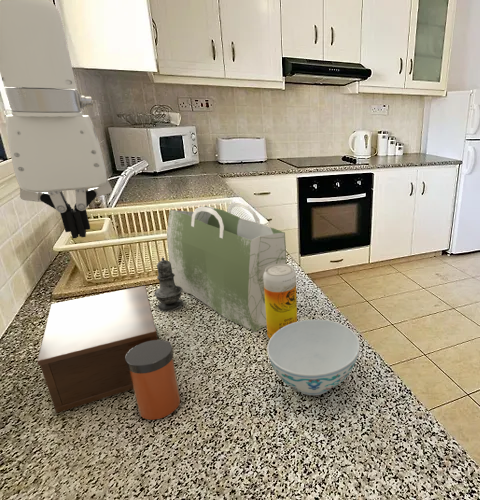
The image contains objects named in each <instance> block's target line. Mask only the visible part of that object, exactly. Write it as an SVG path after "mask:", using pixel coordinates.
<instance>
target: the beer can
mask: <svg viewBox="0 0 480 500" xmlns="http://www.w3.org/2000/svg"><path fill="white" fill-rule="evenodd" d="M263 279H264V293H265V308H266V323H267V325H266V335H267V337H268V338H269V340H270V339H271V337H272V336H273V335H274V334H275V333H276V332H277V331H278V330H280V329H281V328H283V327H285V326H287V325H289V324H291V323H294V322H298V301H297V300H298V299H297V296H298V295H297V272H296V270H295V269H294V267H293V266H292V265H291V264H288V263H286V264H273V265H270V266H268V267H267V268H266V269H265V272H264V275H263Z"/></svg>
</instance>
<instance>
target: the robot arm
mask: <svg viewBox="0 0 480 500" xmlns="http://www.w3.org/2000/svg"><path fill="white" fill-rule="evenodd" d="M71 60H72V59H71V56H70V52H69V46H68V43H67V38H66V33H65V29H64V25H63V20H62V16H61V13H60V11H59V8H58V7H57V6H56V5H55V4H54V3H53V2H52V1H51V0H0V77H1V81H2V84H3V87H4V91H5V95H6V98H7V102H8V105H9V109H10V111H11V114H6V115H5V127H6V136H7V142H8V147H9V154H10V157H11V162H12V167H13V171H14V175H15V176H14V177H15V178H16V181H17V184H18V187H19V198H20V199H21V200H22V201H28V202H37V203H38V202H41V203H44V204H45V205H47V206H49V207H50V208H52V209H54V210H56V212H58V213H59V214H60V217H61V220H62V225H63V228H64V231H65V233H70V234H71V238H72V239H78V238H79V237H80V238H86V237H87V230H91V225H90V220H89V216H88V212H87V208H88V207H89V205H90V204H91V203H92V202H94V200H95V199H96V198H99V197H102V196H105V195H108V194H111V193H112V192H113V188H112V185H111V183H110V181H109V180H108V172H107V167H106V161H105V159H104V155H103V151H102V147H101V144H100V140H99V137H98V135H97V131H96V129H95V125H94V123H93V121H92V118H91V116H90V115H88V114H87V115H86V114H83V109H85V108H88V107H93V106H94V105H93V104H94V103H93V98H92V96H91V95H85V94H82V93H79V90H78V89H77V83H76V80H75V79H76V78H75V75H74V70H73V69H74V68H73V65H72V61H71ZM65 191H75V193H74V194H75V203H74V206H73V208H72V207H71V204H70V203H68V200H67V199H66V197H65V194H64V192H65Z"/></svg>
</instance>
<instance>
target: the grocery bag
mask: <svg viewBox="0 0 480 500" xmlns="http://www.w3.org/2000/svg"><path fill="white" fill-rule="evenodd" d="M235 207H239V208H243V209H245V210H246V211H248V213H250V214H251V215H252V217H253V219H254V221H252V220H249V219H245V218H242V217H239V216H237V215H235V214H233V213H232V209H233V208H235ZM260 220H261V219H260V217H259V216H258V214H257V213H256V211H255V210H254V209H253V208H252V207H251V206H249V205H247V204H245V203H242V202H237V201H233V202H231V203H230V204H229V205H228V206H227V211H226V210H223V209H220V208H217V207H213V206H208V205H204V206H201V205H200V206H198V207H196V208H194V210H193V211H187V210H186V211H185V210H175V209H169V211H168V219H167V229H166V240H167V241H166V242H167V251H168V252H167V254H168V261H169V262H170V263H171V267H172V273H174V274H175V276H174V283H175V285H176V286H180V287H181V288H182V289H183V290H182V292H184V293H187V294H189V295H192V296H193V297H195V298H196V299H197V300H199V301H201V302H202V303H203V304H205V305H206V306H208V307H209V308H211V309H212V310H213V311H215V312H216V313H218V314H219V315H221V316H223V317H224V318H225V319H226V320H229V321H231V322H233V323H235V324H238V325H240V326H242V327H244V328H246V329H249V330H251V331H254V332H258V331H259V330H261V329H263V328H264V327H267V323H266V308H265V293H264V279H263V275H264V272H265V269H266V268H267V267H268V266H270V265H273V264H287V245H286V244H287V243H286V242H287V241H286V232H285V231H282V230H279V229H276V228H274V227H272V226H268V225H266V224H264V223H261V221H260Z"/></svg>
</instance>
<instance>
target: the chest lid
mask: <svg viewBox="0 0 480 500" xmlns="http://www.w3.org/2000/svg"><path fill="white" fill-rule="evenodd" d="M153 315H154V314H153V313H152V307H151V302H150V299H149V295H148V291H147V287H146V285H142V286H136V287H130V288H126V289H125V288H124V289H120V290H116V291H111V292H110V291H109V292H106V293H100V294H96V295H90V296H85V297H80V298H75V299H69V300H64V301H59V302H54V303H51V304H50V307H49V312H48V316H47V320H46V323H45V326H44V327H45V328H44V331H43V336H42V340H41V344H40V348H39V352H38V356H37V360H36V363H37V366H38V367H39V366H40V365H44V364H48V363H52V362H56V361H60V360H63V359H67V358H71V357H75V356H79V355H83V354H86V353H90V352H94V351H98V350H102V349H106V348H110V347H113V346H117V345H121V344H125V343H129V342H133V341H136V340H140V339H144V338H148V337H152V336H156V335H157V336H158V332H157V328H156V324H155V320H154V316H153Z"/></svg>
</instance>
